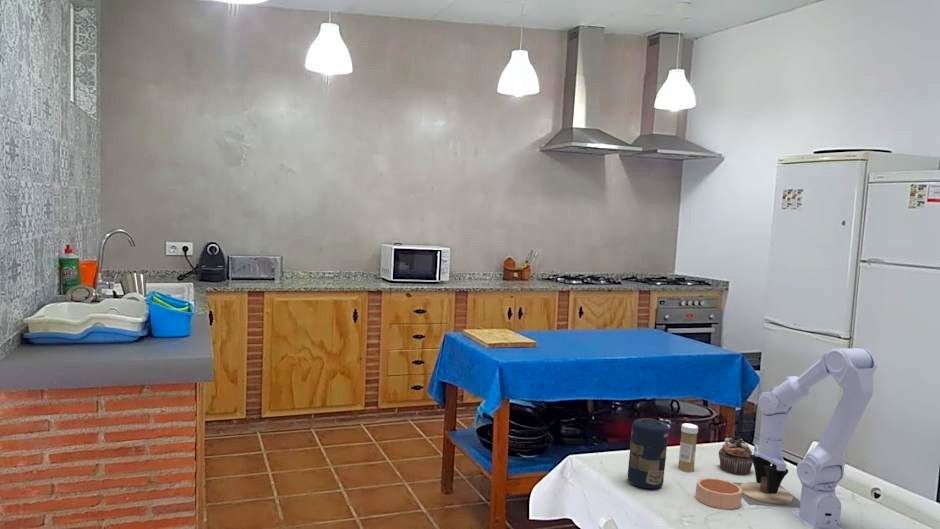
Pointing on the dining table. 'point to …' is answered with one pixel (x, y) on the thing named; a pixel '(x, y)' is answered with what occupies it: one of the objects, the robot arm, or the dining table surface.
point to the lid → (765, 493)
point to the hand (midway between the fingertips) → (766, 487)
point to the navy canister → (647, 453)
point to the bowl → (718, 493)
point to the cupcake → (735, 456)
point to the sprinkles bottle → (687, 447)
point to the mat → (753, 502)
